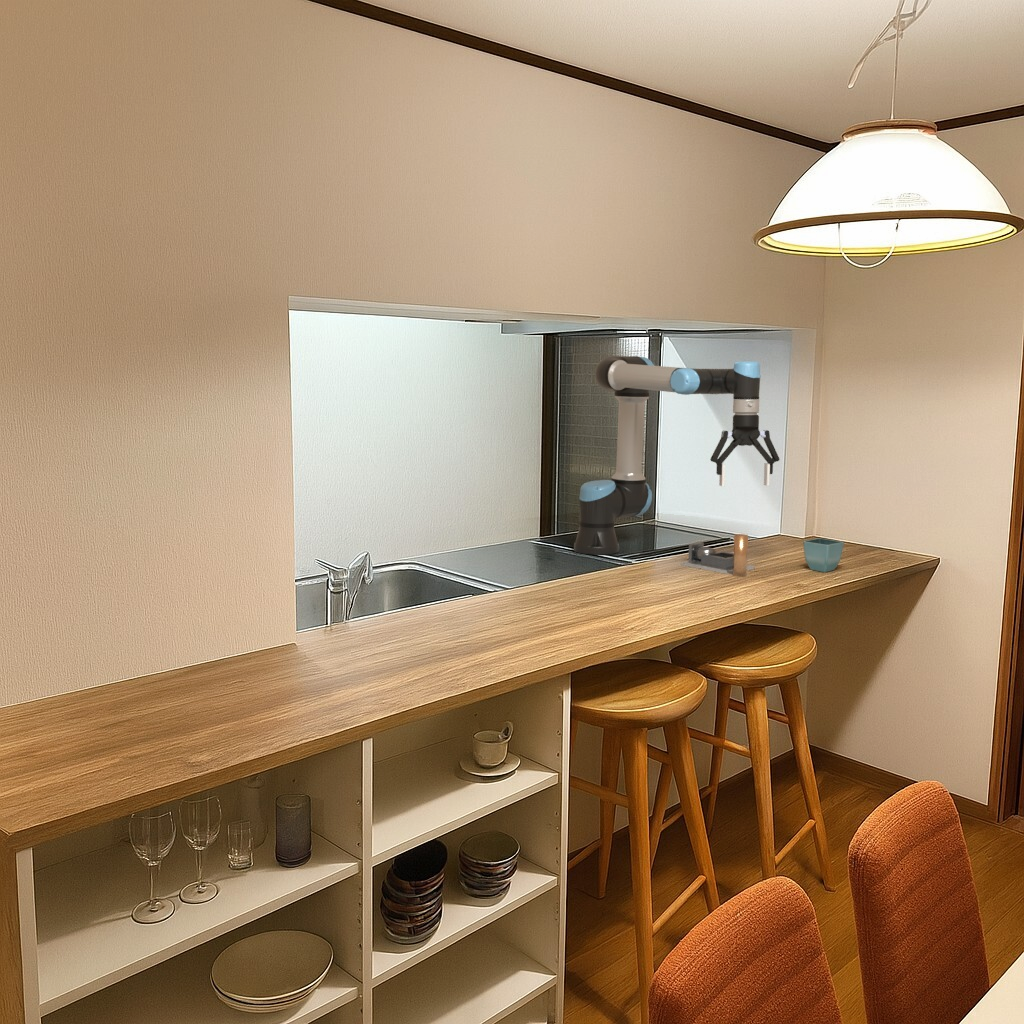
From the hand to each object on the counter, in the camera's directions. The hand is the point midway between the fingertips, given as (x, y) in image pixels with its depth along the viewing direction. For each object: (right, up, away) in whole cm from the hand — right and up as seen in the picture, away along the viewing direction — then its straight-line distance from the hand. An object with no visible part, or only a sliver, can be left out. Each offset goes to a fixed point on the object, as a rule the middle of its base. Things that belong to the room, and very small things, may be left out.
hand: (744, 485), depth 291 cm
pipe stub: (-2, -27, -3) cm, 27 cm away
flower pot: (+25, -26, +5) cm, 36 cm away
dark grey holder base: (-6, -25, +10) cm, 27 cm away
